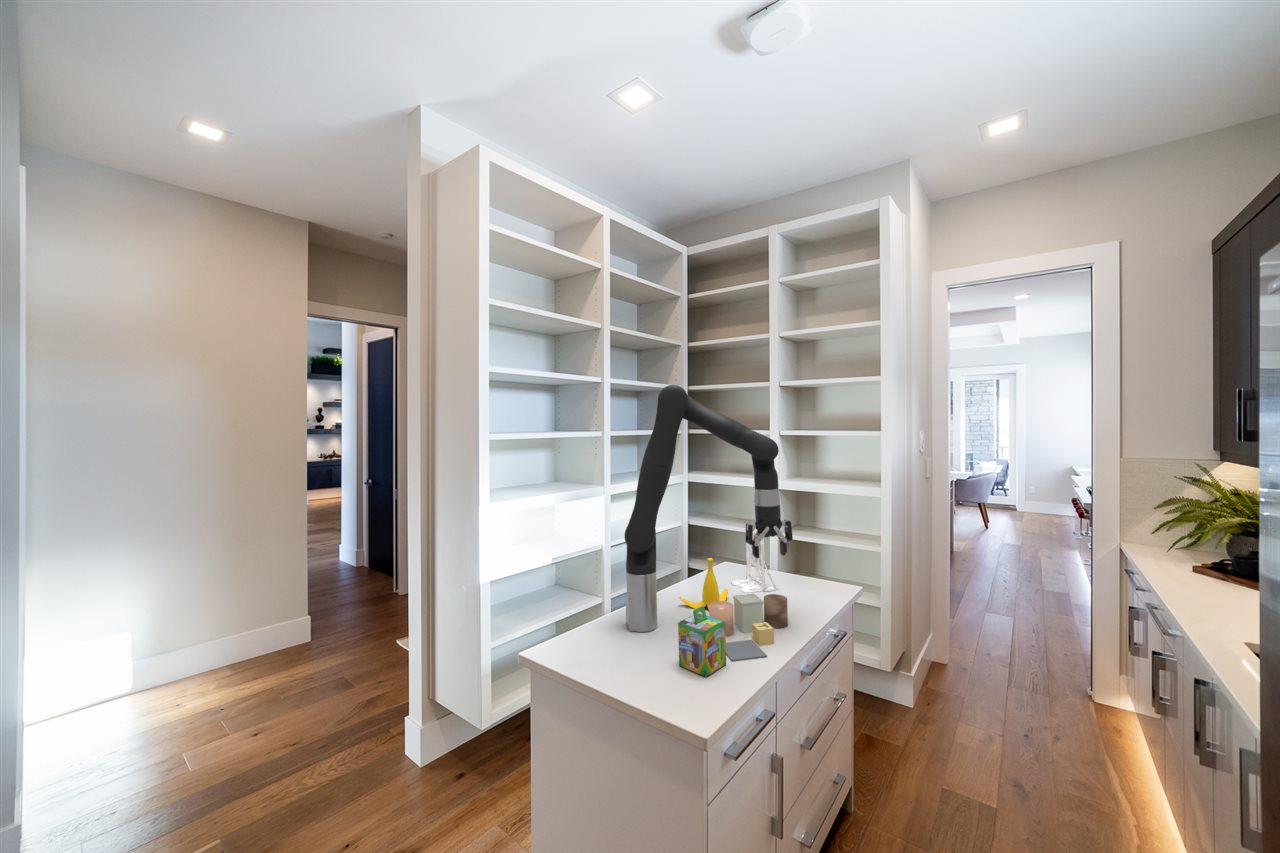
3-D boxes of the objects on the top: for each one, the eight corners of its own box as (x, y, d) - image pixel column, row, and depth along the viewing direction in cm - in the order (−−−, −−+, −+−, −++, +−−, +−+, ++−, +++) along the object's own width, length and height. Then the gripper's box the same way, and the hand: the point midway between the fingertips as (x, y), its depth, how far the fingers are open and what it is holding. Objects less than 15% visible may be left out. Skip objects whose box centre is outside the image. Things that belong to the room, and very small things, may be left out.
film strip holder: (728, 582, 198) (727, 530, 198) (761, 578, 202) (760, 527, 201) (745, 594, 184) (743, 539, 184) (780, 590, 188) (779, 536, 187)
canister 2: (770, 629, 154) (770, 603, 154) (760, 620, 161) (759, 595, 161) (792, 627, 155) (791, 601, 155) (781, 618, 162) (780, 593, 162)
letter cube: (759, 646, 144) (758, 629, 144) (752, 639, 148) (751, 623, 148) (773, 644, 145) (773, 628, 145) (766, 637, 149) (766, 621, 149)
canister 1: (714, 638, 149) (714, 610, 149) (706, 628, 156) (706, 602, 156) (737, 635, 151) (736, 608, 151) (728, 625, 158) (727, 599, 157)
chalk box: (706, 678, 127) (704, 618, 127) (677, 666, 133) (676, 609, 133) (727, 664, 134) (726, 608, 133) (699, 653, 140) (698, 599, 140)
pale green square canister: (742, 633, 152) (741, 603, 152) (733, 623, 159) (733, 595, 159) (763, 630, 154) (763, 601, 153) (754, 621, 160) (753, 593, 160)
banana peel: (677, 606, 175) (676, 557, 175) (726, 597, 182) (725, 550, 182) (701, 624, 160) (700, 570, 159) (753, 614, 167) (752, 563, 166)
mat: (731, 661, 135) (731, 660, 135) (718, 644, 145) (718, 643, 145) (767, 657, 137) (767, 655, 137) (751, 640, 147) (751, 639, 147)
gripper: (750, 507, 151) (753, 562, 152) (794, 503, 154) (797, 556, 154) (740, 503, 159) (743, 555, 159) (783, 499, 161) (785, 550, 162)
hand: (770, 556), depth 157 cm, fingers open, 8 cm apart
